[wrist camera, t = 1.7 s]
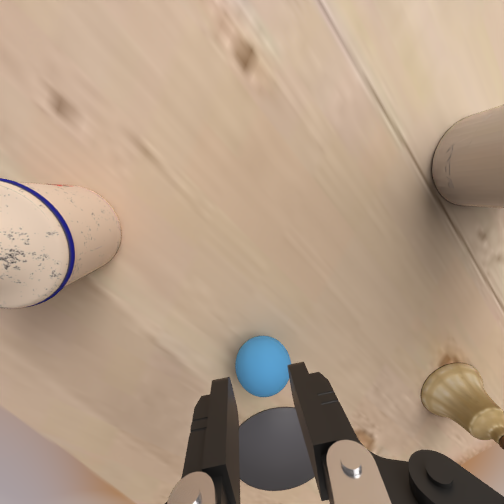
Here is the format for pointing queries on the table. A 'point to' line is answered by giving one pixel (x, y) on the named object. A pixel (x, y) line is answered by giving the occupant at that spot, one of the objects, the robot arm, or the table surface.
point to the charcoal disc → (273, 451)
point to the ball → (262, 366)
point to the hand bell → (464, 401)
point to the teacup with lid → (51, 239)
